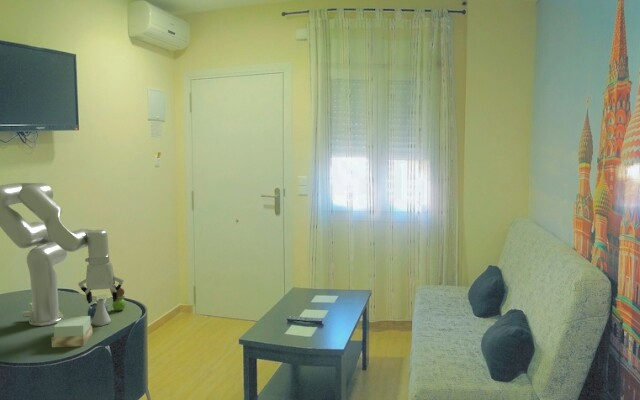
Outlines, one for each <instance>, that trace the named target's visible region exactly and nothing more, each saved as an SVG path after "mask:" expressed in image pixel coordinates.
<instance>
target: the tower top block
mask: <svg viewBox="0 0 640 400" xmlns="http://www.w3.org/2000/svg"><path fill="white" fill-rule="evenodd" d="M91 323H92V320H91V315H81V316H80V315H79V316H78V315H77V316H63V317H62V318H61V319H60V320H59V322H57V323H55V325H54V326H53V335H54V337H73V336H84V335H85V333H86V332H87V330H88V329H89V328H90V326H91V325H92V324H91Z"/></svg>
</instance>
